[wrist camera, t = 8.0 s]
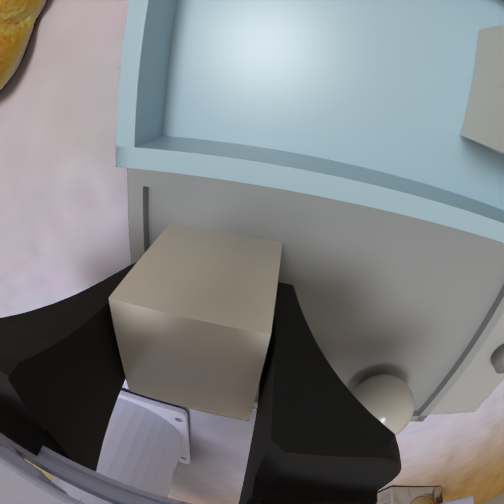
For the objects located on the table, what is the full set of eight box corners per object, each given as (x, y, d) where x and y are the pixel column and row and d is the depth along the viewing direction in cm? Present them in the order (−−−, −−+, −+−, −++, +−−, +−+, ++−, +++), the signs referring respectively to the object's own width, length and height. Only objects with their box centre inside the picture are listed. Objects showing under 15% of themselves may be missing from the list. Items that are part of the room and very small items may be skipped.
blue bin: (521, 229, 9) (553, 259, 7) (151, 148, 10) (115, 166, 8) (559, 37, 5) (596, 38, 3) (184, -77, 6) (157, -106, 4)
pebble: (391, 401, 14) (398, 451, 12) (336, 397, 15) (338, 450, 12) (418, 362, 13) (433, 417, 10) (358, 357, 13) (365, 416, 10)
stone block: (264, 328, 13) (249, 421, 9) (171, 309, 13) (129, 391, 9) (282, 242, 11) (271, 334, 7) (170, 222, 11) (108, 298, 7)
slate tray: (469, 407, 15) (474, 423, 14) (153, 371, 16) (144, 390, 15) (568, 258, 9) (582, 273, 8) (139, 161, 11) (120, 171, 9)
